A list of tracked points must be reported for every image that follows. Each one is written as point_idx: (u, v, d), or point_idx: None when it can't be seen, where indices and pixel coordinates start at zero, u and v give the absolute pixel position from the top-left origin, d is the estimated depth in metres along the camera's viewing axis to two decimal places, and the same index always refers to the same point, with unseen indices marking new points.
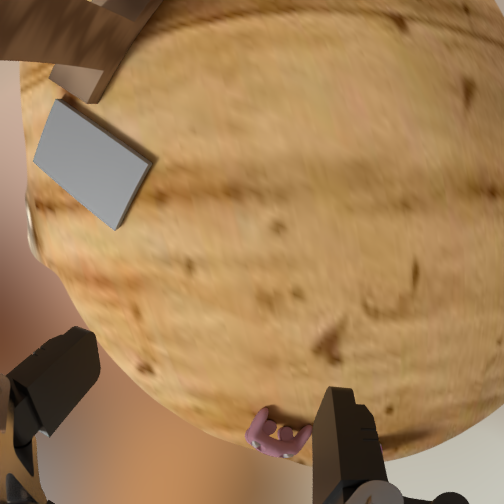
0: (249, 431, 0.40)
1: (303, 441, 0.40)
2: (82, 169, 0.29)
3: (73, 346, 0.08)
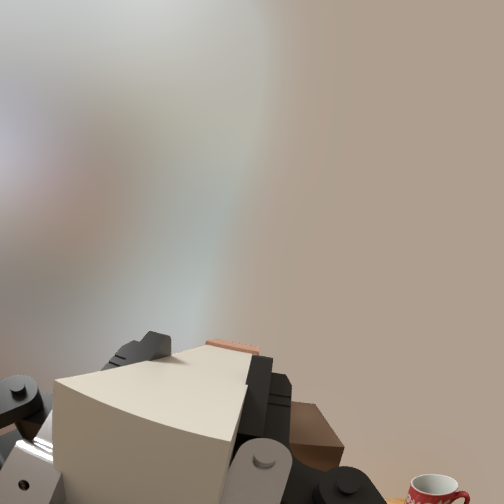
0: None
1: None
2: None
3: (156, 351, 0.09)
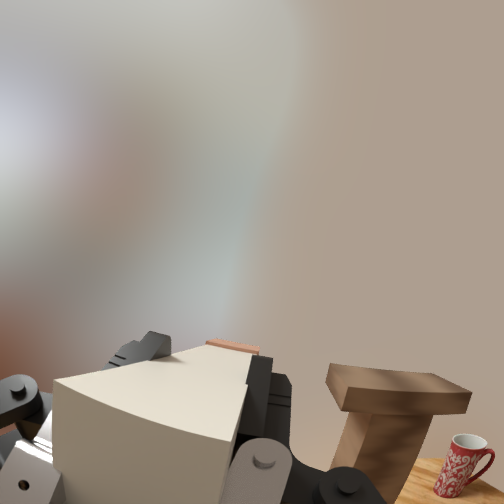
0: None
1: None
2: None
3: (156, 351, 0.09)
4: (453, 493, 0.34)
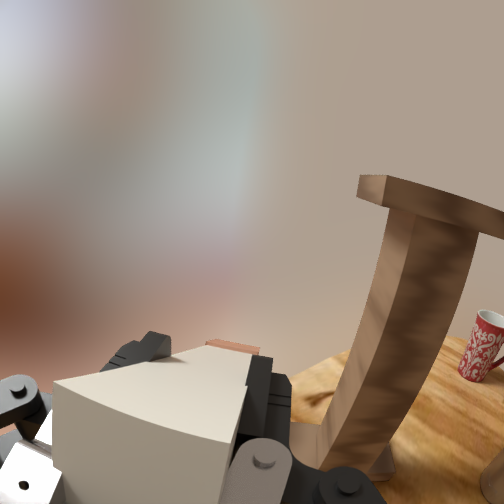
0: None
1: None
2: None
3: (156, 351, 0.09)
4: (477, 376, 0.44)
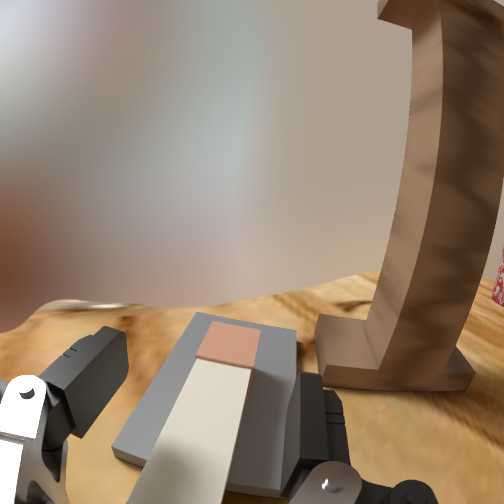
0: None
1: None
2: None
3: (106, 346, 0.08)
4: None
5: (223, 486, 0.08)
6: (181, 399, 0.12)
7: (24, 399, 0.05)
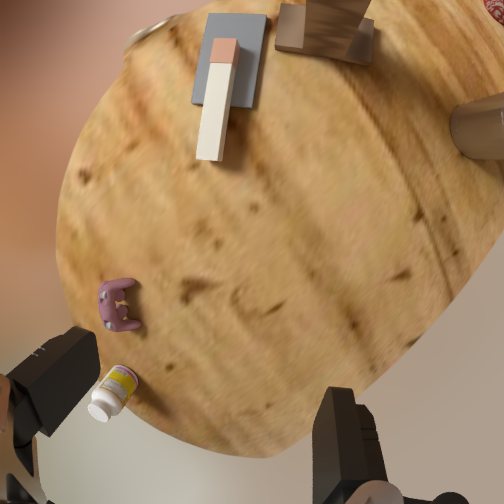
0: (109, 282, 0.46)
1: (128, 328, 0.49)
2: None
3: (73, 346, 0.08)
4: (500, 18, 0.26)
5: (223, 114, 0.37)
6: (208, 84, 0.36)
7: None
